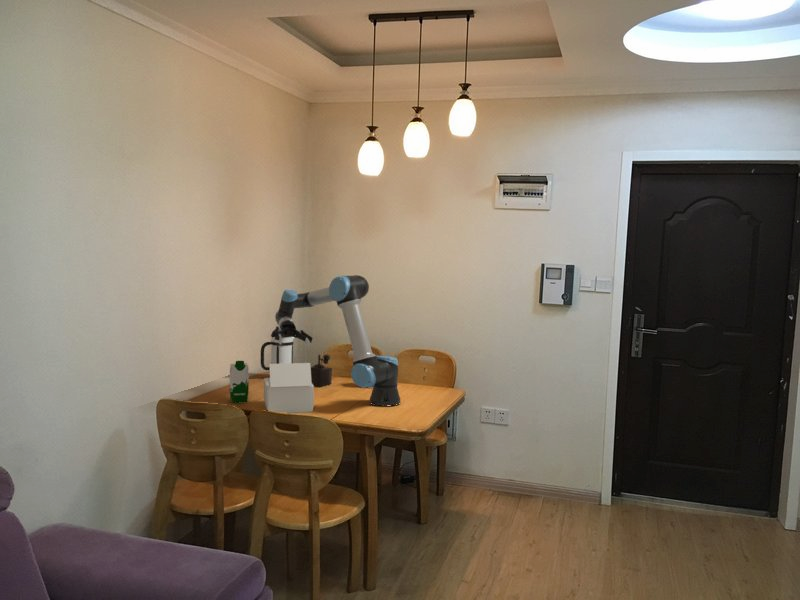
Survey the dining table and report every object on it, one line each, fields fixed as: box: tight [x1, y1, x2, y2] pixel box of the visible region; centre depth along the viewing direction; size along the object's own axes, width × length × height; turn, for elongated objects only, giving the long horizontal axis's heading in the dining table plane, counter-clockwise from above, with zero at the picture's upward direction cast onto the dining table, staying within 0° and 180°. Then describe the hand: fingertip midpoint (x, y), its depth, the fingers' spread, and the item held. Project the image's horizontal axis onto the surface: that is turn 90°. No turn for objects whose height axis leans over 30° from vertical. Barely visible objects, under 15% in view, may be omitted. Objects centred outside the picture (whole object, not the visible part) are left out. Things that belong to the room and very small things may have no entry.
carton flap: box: [268, 362, 312, 388], centre depth 303 cm, size 11×19×1 cm
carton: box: [263, 377, 315, 414], centre depth 313 cm, size 22×21×12 cm
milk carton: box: [229, 360, 250, 404], centre depth 321 cm, size 9×9×20 cm
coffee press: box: [260, 331, 296, 377], centre depth 376 cm, size 17×16×30 cm
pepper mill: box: [311, 354, 333, 388], centre depth 361 cm, size 16×11×18 cm
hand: (295, 343), depth 316 cm, fingers open, 13 cm apart
